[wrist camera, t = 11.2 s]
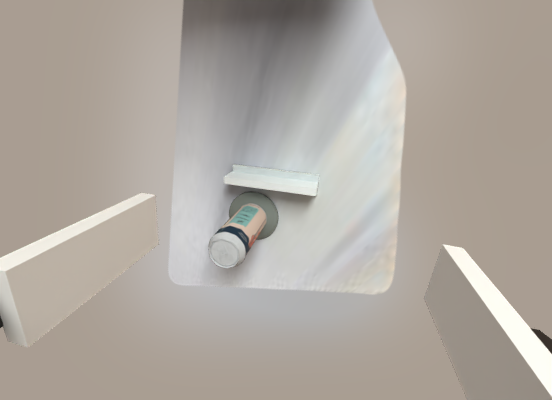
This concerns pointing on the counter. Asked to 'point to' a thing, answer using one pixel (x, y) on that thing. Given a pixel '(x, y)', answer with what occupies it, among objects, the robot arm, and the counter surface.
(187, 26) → the counter surface
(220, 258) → the beer can
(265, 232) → the coaster
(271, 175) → the divider
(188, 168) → the counter surface
